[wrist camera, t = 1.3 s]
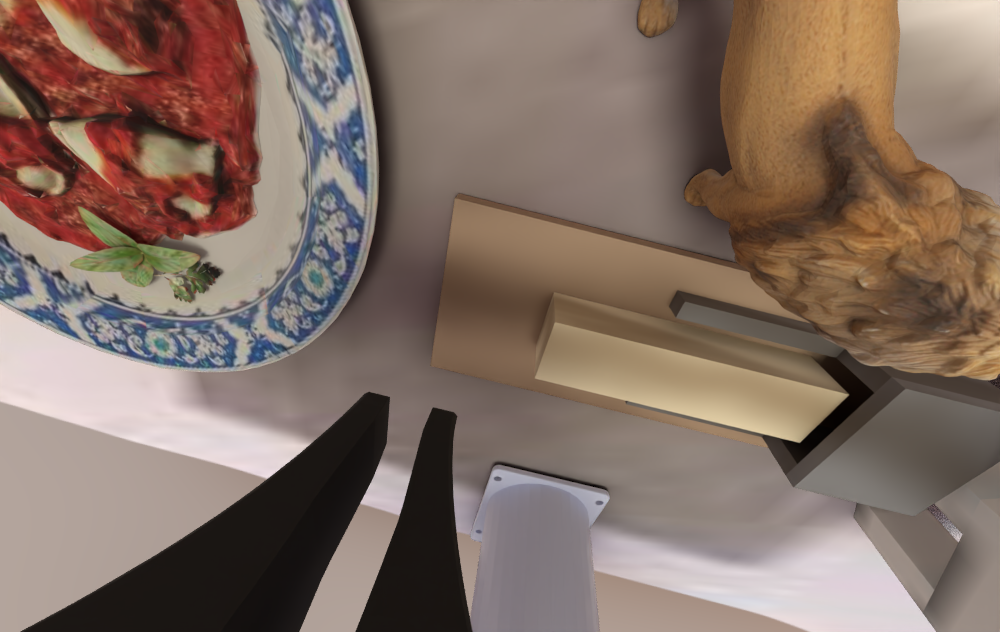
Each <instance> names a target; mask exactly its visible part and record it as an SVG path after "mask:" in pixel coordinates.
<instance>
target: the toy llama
mask: <svg viewBox="0 0 1000 632" xmlns="http://www.w3.org/2000/svg"><path fill="white" fill-rule="evenodd" d="M934 504H935V505H936V506H937V507H938V508H939V510H940V511H941V512H942V513H943V514H944V515H945V516H946V517H947V518H948V519H949V520H950V521H951V522H952V523H953V524H954V525H955V527H956V528H957V529H958V530H959V531H960V532H961V533H962V534H963V535H962V537H961V539H960V541H959V543H958V542H957V541H956V539H955V538H954V537H953V536H952V535H951V534H950V533H949V532H948V531H947V530H946V529H945V527H944V526H943V525H942V524H941V523H940V522H939V521H938V520H937V519H936V518H935V517H934V515H933V514H932V513H931V512H930V511H929V510H928V509H925V510H924V511H922V512H920V513H919V514H917V515H916V516H910V515H906V514H902V513H897V512H893V511H889V510H885V509H881V508H877V507H872V506H868V505H864V504H860V503H857V506H856V510H855V514H854V518H855V520H856V521H857V523H858V524H859V525H860V527H861V528H862V530H863V531H864V532H865V534H866V535H867V536H868V538H869V539H870V541H871V542H872V543H873V545H874V546H875V548H876V549H877V550H878V552H879V553H880V554H881V556H882V557H883V559H884V560H885V561H886V563H887V564H888V566H889V567H890V568H891V570H892V571H893V572H894V574H895V575H896V577H897V578H898V579H899V581H900V582H901V584H902V585H903V586H904V588H905V589H906V590H907V592H908V593H909V595H910V596H911V597H912V599H913V600H914V601H915V603H916V604H917V606H918V607H919V608H920V610H921V611H922V613H923V614H924V615H925V617H926V618H927V619H928V621H929V622H930V624H931V625H932V626H933V628H934V629H935V631H936V632H1000V462H999V463H997V464H996V465H994V466H993V467H991V468H989V469H988V470H986V471H985V472H983V473H982V474H980V475H978V476H977V477H975V478H974V479H972V480H971V481H969V482H967V483H966V484H964V485H963V486H961V487H960V488H958V489H956V490H955V491H953V492H952V493H950V494H949V495H947V496H945V497H944V498H942V499H941V500H939V501H938V502H936V503H934Z"/></svg>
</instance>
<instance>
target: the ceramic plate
mask: <svg viewBox="0 0 1000 632" xmlns="http://www.w3.org/2000/svg"><path fill="white" fill-rule="evenodd" d="M378 190H379V158H378V143H377V128H376V121H375V115H374V108H373V101H372V95H371V88H370V83H369V79H368V74H367V70H366V66H365V61H364V57H363V53H362V48H361V44H360V40H359V36H358V33H357V29H356V26H355V23H354V20H353V16H352V13H351V10H350V7H349V3H348V0H0V304H1V305H3V306H5V307H6V308H8V309H10V310H12V311H13V312H15V313H17V314H19V315H21V316H23V317H25V318H27V319H29V320H31V321H33V322H35V323H37V324H39V325H41V326H43V327H45V328H47V329H49V330H51V331H53V332H55V333H57V334H60V335H62V336H65V337H67V338H69V339H72V340H74V341H77V342H79V343H82V344H84V345H87V346H89V347H92V348H94V349H96V350H99V351H102V352H105V353H109V354H112V355H115V356H119V357H122V358H125V359H129V360H132V361H135V362H139V363H143V364H147V365H151V366H155V367H159V368H165V369H174V370H183V371H194V372H229V371H241V370H247V369H251V368H256V367H260V366H263V365H267V364H270V363H273V362H276V361H278V360H281V359H283V358H285V357H287V356H289V355H292V354H294V353H296V352H297V351H299V350H301V349H302V348H304V347H305V346H307V345H309V344H310V343H311V342H312V341H314V340H315V339H316V338H317V337H319V336H320V335H321V334H322V333H323V332H324V331H325V330H326V329H327V328H328V327H329V326H330V325H331V324H332V323H333V322H334V321H335V319H336V318H337V317H338V316H339V314H340V313H341V311H342V310H343V308H344V307H345V305H346V304H347V302H348V301H349V299H350V297H351V295H352V293H353V291H354V289H355V287H356V286H357V284H358V282H359V280H360V278H361V275H362V273H363V271H364V269H365V265H366V261H367V257H368V253H369V250H370V246H371V242H372V238H373V234H374V230H375V222H376V214H377V206H378Z"/></svg>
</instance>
